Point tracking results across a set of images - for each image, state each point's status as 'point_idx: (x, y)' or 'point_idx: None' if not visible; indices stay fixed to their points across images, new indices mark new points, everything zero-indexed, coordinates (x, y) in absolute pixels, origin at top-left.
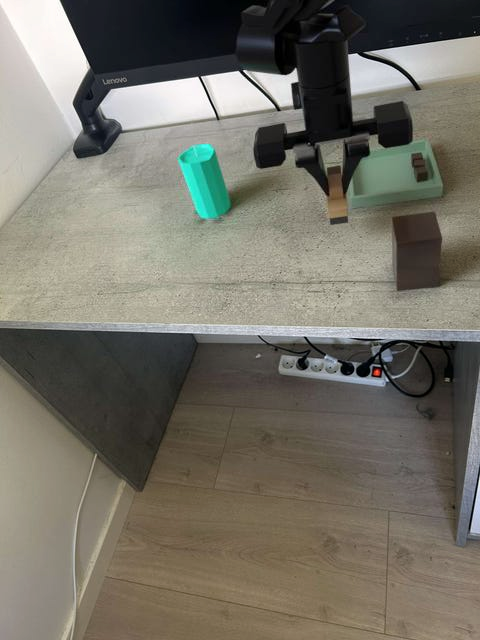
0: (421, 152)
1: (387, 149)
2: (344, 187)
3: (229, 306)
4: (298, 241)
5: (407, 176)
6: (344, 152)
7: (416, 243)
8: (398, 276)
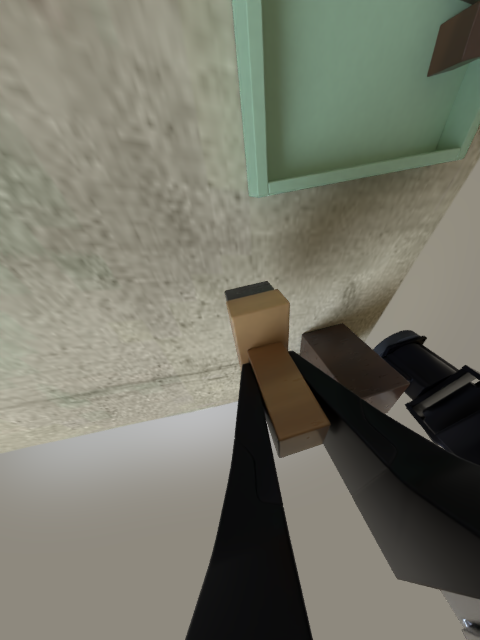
0: None
1: None
2: None
3: (118, 412)
4: (158, 307)
5: (425, 9)
6: (406, 550)
7: None
8: None
